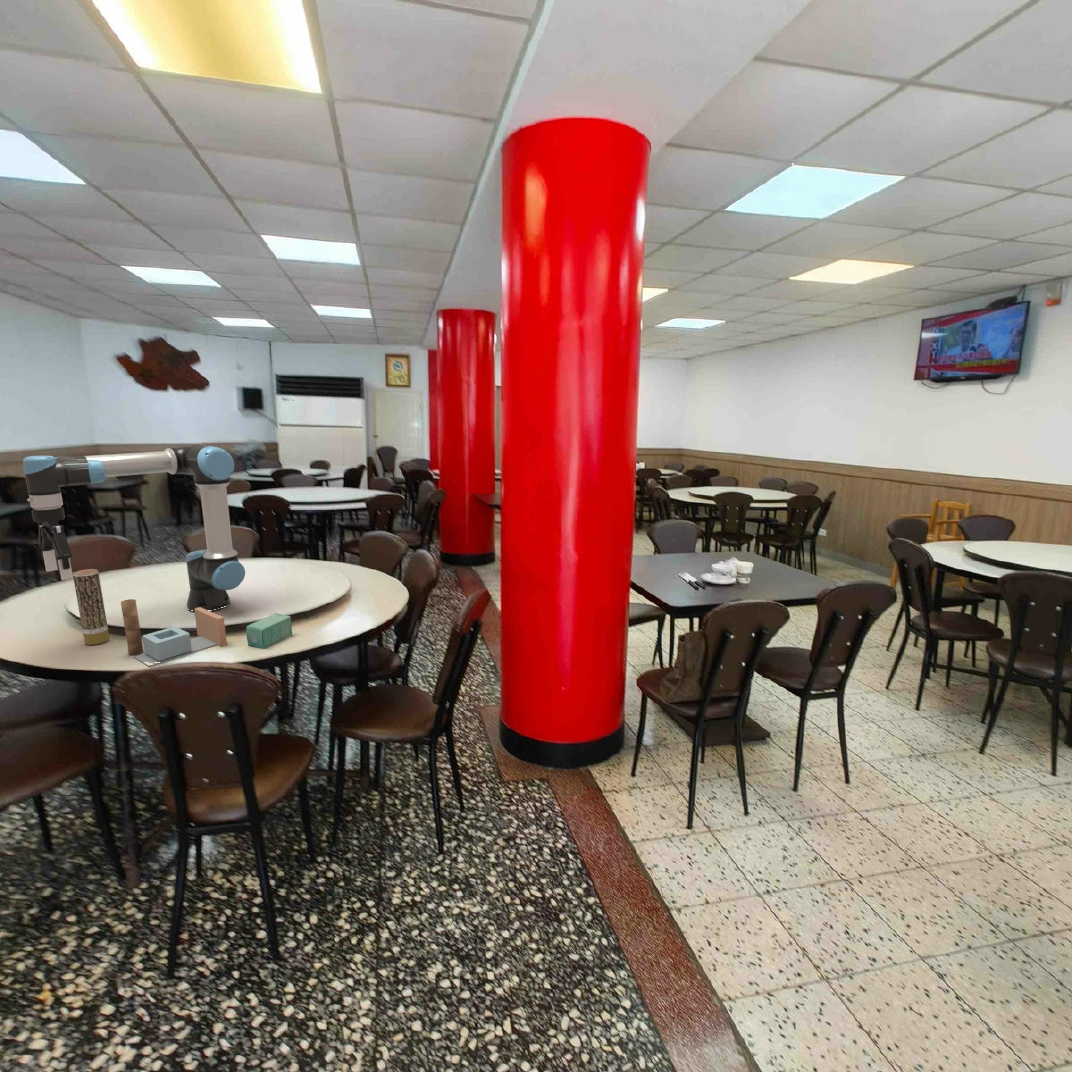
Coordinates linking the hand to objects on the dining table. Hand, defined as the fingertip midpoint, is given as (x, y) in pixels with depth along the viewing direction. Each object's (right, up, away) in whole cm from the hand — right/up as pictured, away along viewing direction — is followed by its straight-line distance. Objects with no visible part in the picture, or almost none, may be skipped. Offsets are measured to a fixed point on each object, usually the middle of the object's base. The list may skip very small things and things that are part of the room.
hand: (59, 574), depth 180 cm
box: (+55, -25, +23) cm, 65 cm away
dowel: (+16, -26, +11) cm, 33 cm away
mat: (+29, -26, +13) cm, 41 cm away
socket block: (+27, -27, +11) cm, 40 cm away
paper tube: (-2, -24, +19) cm, 31 cm away
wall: (+35, -24, +22) cm, 48 cm away
